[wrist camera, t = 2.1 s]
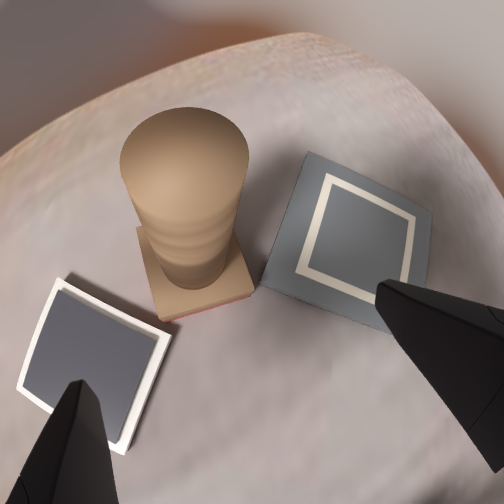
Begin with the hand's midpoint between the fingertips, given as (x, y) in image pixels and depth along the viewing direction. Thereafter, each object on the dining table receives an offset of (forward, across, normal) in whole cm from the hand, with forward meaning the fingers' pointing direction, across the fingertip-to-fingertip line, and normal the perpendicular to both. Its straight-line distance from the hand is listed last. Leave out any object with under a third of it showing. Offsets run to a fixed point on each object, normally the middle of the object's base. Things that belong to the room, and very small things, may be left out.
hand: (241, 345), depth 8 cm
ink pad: (+9, +9, +8) cm, 15 cm away
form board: (+11, -13, +6) cm, 18 cm away
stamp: (+13, 0, +4) cm, 13 cm away
